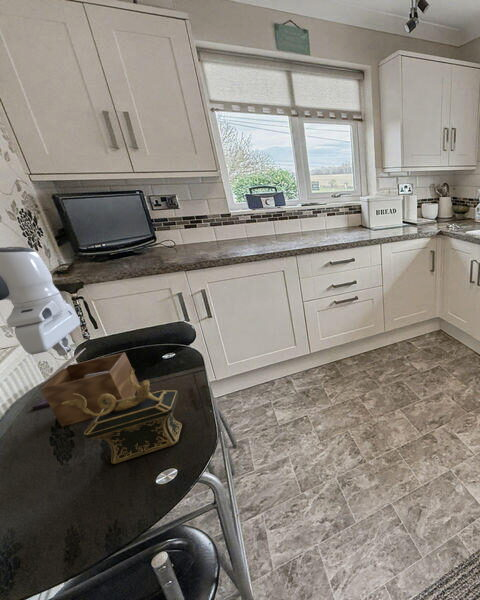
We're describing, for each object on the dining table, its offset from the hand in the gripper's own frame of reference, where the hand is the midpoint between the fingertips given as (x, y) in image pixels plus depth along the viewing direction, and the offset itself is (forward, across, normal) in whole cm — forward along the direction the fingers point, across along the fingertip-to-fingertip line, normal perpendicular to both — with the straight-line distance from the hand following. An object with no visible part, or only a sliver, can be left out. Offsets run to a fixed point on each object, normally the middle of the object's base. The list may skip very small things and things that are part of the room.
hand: (65, 353), depth 91 cm
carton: (+19, 0, +2) cm, 19 cm away
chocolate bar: (+19, -13, -9) cm, 24 cm away
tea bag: (+18, 0, +4) cm, 19 cm away
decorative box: (+19, +27, +18) cm, 38 cm away
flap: (+4, 0, -2) cm, 4 cm away
